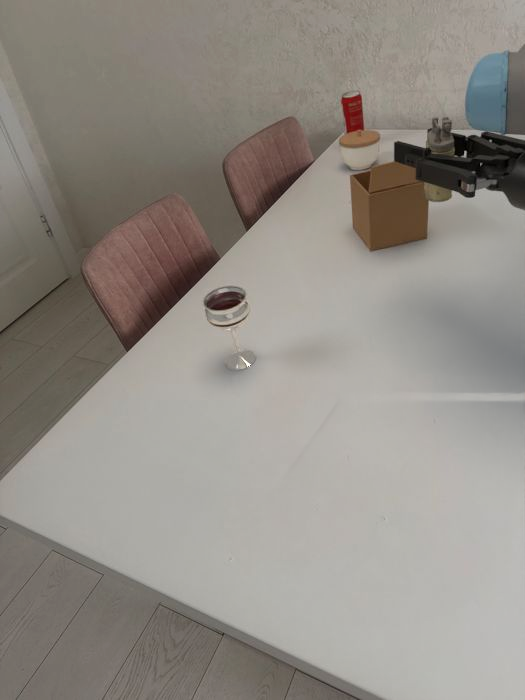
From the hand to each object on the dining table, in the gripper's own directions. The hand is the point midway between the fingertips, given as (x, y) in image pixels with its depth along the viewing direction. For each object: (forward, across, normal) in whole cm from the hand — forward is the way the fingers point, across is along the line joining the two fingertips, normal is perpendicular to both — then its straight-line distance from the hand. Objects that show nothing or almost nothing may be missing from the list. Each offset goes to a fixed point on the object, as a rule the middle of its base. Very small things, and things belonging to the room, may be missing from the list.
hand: (412, 144), depth 73 cm
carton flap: (+12, +8, -10) cm, 17 cm away
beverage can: (+67, +39, -25) cm, 81 cm away
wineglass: (+2, -33, -25) cm, 42 cm away
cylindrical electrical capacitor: (-5, 0, -6) cm, 8 cm away
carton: (+18, +11, -25) cm, 32 cm away
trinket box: (+53, +31, -25) cm, 66 cm away
